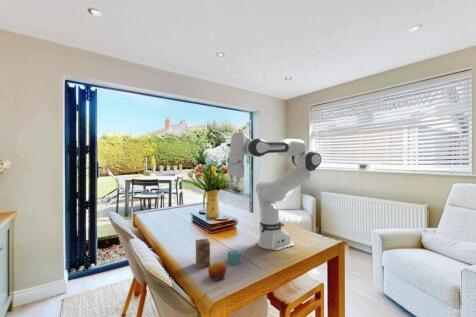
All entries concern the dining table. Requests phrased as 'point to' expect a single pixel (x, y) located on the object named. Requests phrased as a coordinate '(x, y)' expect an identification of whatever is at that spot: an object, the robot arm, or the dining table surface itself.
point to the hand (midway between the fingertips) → (234, 183)
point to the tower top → (202, 247)
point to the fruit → (217, 270)
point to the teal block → (234, 257)
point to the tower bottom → (202, 261)
